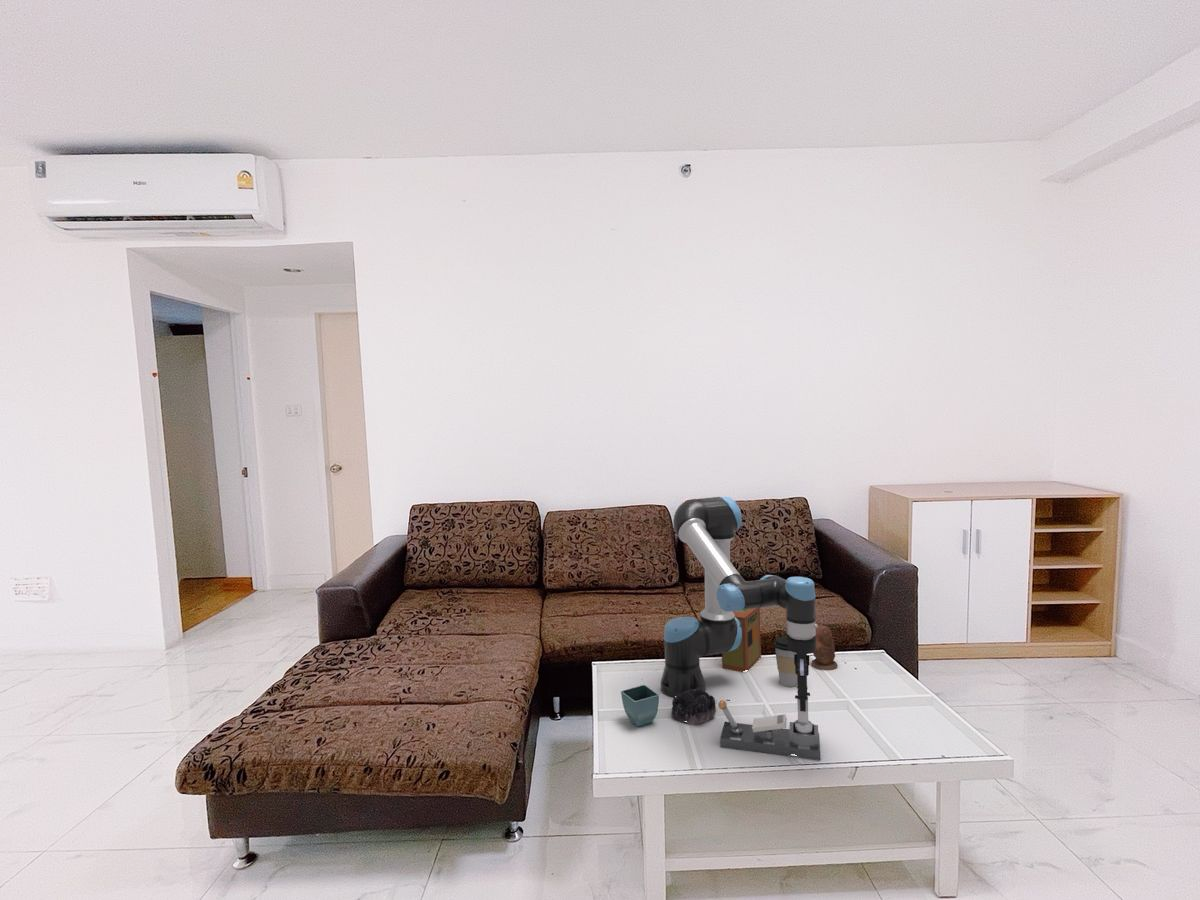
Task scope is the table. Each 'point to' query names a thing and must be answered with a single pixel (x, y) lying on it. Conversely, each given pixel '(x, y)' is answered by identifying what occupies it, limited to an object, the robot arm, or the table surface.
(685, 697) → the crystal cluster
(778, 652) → the coffee cup
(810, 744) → the panel
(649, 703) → the flower pot
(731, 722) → the toggle
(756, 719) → the plate
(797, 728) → the button
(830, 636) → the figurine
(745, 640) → the box
